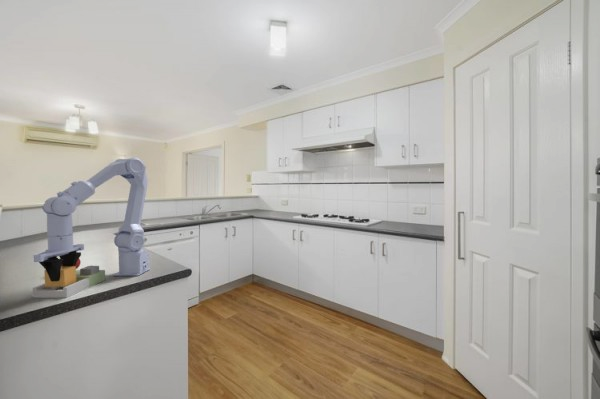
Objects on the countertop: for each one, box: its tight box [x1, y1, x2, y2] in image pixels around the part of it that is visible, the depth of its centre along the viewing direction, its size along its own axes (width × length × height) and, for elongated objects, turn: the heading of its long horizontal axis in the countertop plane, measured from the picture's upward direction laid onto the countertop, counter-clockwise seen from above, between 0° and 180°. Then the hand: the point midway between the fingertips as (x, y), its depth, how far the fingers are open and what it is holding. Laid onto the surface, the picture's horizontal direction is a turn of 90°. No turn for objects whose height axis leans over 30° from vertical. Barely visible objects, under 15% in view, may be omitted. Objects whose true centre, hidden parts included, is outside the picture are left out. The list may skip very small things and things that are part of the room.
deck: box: [32, 265, 106, 299], centre depth 82 cm, size 10×15×6 cm, turn 1°
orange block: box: [44, 266, 77, 288], centre depth 79 cm, size 6×4×5 cm, turn 90°
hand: (62, 278), depth 79 cm, fingers closed on orange block, 4 cm apart
